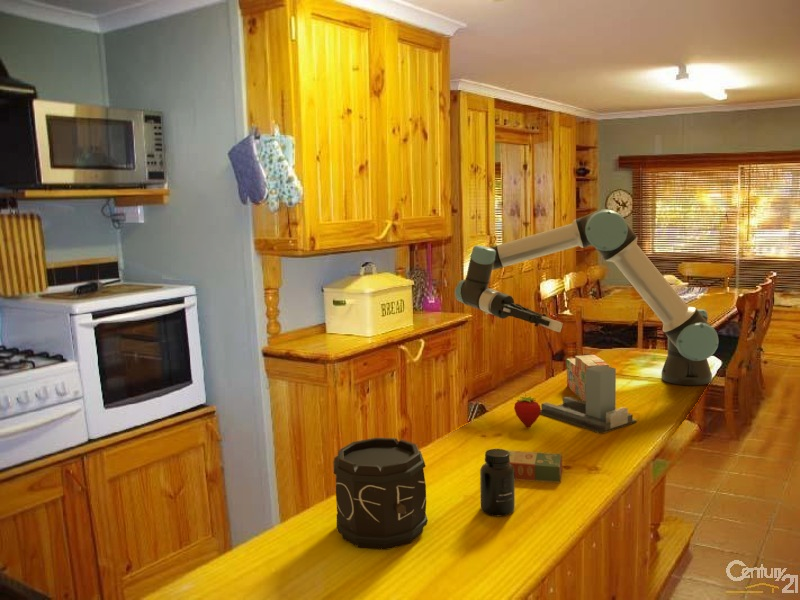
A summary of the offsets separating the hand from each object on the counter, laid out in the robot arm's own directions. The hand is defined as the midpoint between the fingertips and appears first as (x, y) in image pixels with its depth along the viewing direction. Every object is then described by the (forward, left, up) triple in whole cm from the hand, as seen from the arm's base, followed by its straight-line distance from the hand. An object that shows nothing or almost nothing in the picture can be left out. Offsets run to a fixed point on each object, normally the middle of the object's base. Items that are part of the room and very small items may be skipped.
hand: (560, 327), depth 206 cm
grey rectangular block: (+3, +17, -23) cm, 29 cm away
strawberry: (+21, +8, -23) cm, 32 cm away
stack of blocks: (-14, -2, -24) cm, 27 cm away
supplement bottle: (+60, +40, -24) cm, 76 cm away
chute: (+3, +12, -23) cm, 26 cm away
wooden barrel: (+83, +33, -24) cm, 92 cm away
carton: (+43, +30, -24) cm, 57 cm away
